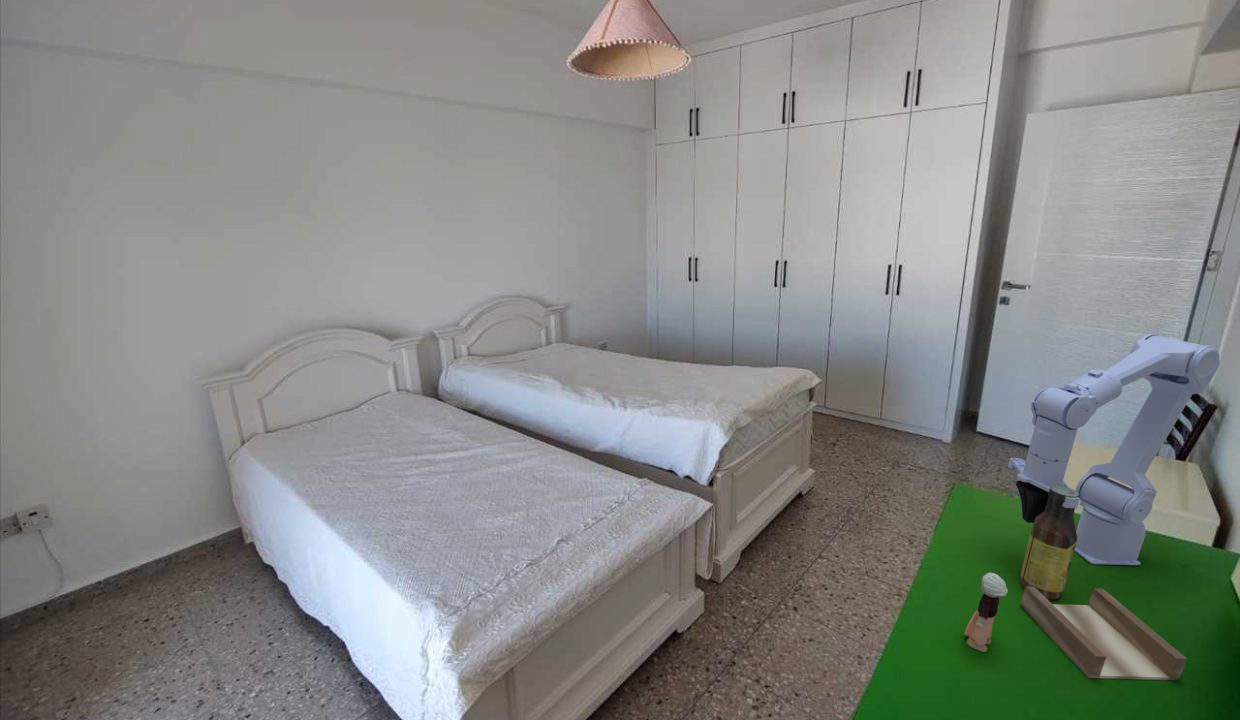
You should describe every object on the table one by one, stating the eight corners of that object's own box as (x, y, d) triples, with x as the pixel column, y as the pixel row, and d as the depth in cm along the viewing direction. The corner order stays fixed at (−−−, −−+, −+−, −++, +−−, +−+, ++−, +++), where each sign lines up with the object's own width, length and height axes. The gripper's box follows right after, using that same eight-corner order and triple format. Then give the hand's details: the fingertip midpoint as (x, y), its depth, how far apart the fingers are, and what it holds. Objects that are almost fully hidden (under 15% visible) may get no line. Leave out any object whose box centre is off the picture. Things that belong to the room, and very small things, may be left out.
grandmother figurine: (967, 623, 88) (983, 558, 85) (994, 634, 86) (1012, 568, 82) (959, 652, 83) (976, 584, 79) (989, 665, 80) (1007, 595, 77)
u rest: (1096, 607, 92) (1102, 588, 91) (1178, 680, 78) (1187, 658, 77) (1020, 605, 92) (1025, 586, 91) (1088, 677, 78) (1096, 656, 77)
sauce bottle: (1069, 604, 93) (1100, 504, 87) (1029, 598, 94) (1057, 499, 88) (1048, 579, 99) (1076, 484, 93) (1011, 574, 100) (1036, 480, 94)
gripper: (999, 436, 102) (984, 499, 106) (1056, 474, 88) (1036, 544, 92) (1036, 437, 102) (1020, 500, 106) (1099, 475, 88) (1078, 545, 92)
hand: (1030, 520), depth 99 cm, fingers closed
